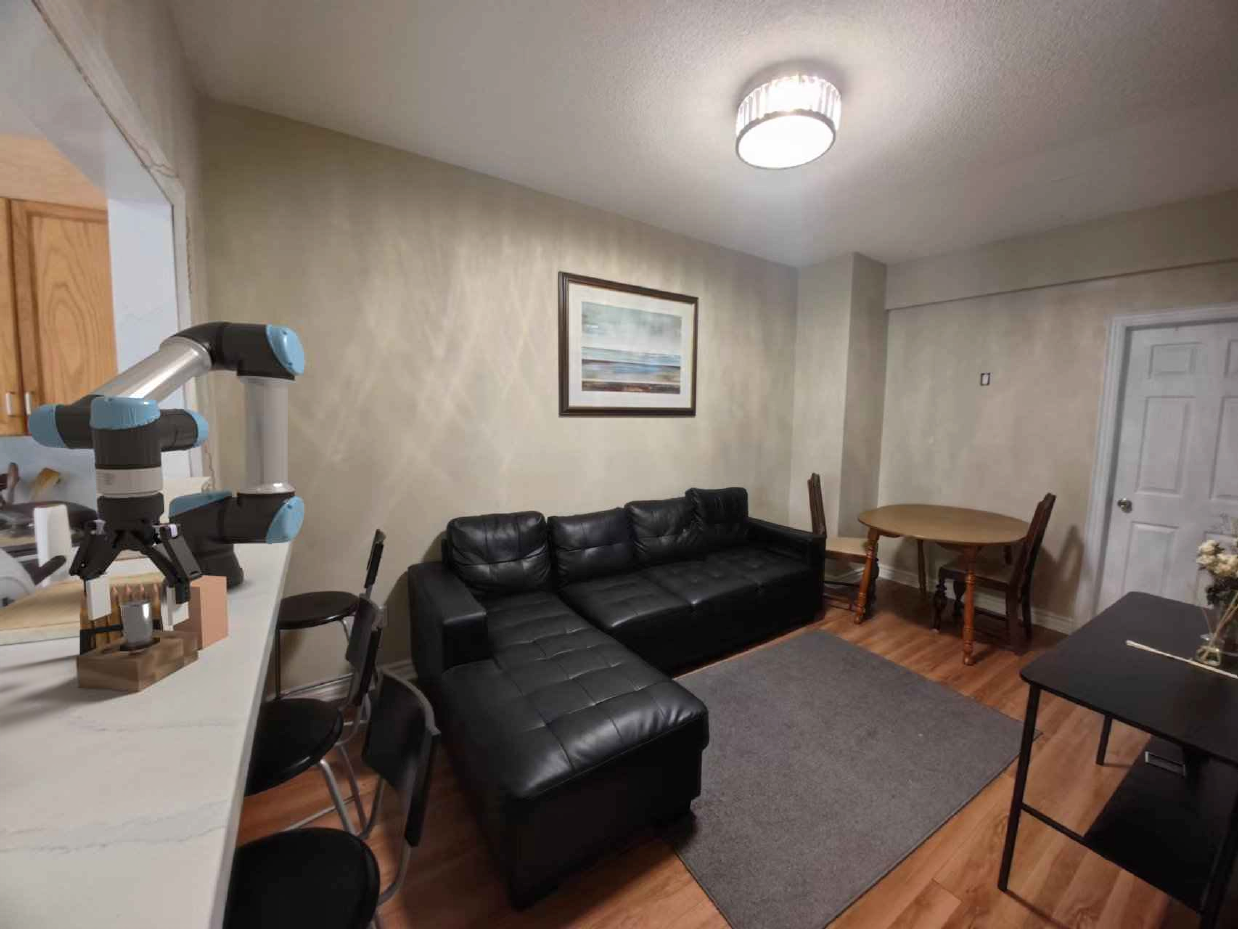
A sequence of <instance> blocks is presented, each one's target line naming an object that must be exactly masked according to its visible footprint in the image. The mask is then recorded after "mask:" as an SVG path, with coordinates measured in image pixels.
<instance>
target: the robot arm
mask: <svg viewBox="0 0 1238 929" xmlns="http://www.w3.org/2000/svg"><path fill="white" fill-rule="evenodd" d="M305 367H306V359H305V351H304V348H303V346H302V343H301V340H300V339H299V337H298V335H297V334H296V333H295V332H294V331H293V330H292V329H290V328H288V327H285V326H278V325H273V324H262V323H261V324H260V323H259V324H258V323H248V322H247V323H244V322H230V321H220V320H219V321H211V322H210V321H209V322H205V323H201V324H197V325H195V326H194V325H193V326H190V327H188V328H187V327H186V328H185V329H182V330H181V331H178V332H176V333H174V334H172V335H170V336H169V337H167V338H165V339H164V340H163V341H161V343H160V344H159V346H158V350H156V351H154V352H153V353H151V354H150V355H148V356H146V357H145V358H144V359H141V360H140V361H139V362H137V363H135V364H134V365H132V366H130V367H128V368H127V369H126V370H123V371H122V372H121V373H119V374H118V375H116V376H114V377H112V378H111V379H109V380H108V381H106V382H104V383H103V384H102V385H99V386H98V387H96V388H95V389H93V390H92V391H90V392H89V393H87V394H85V395H84V396H82V397H81V398H79V399H77V400H75V401H74V402H72V403H70V404H69V403H68V404H64V403H56V404H53V403H52V404H43V405H39V406H37V407H36V408H34V409H33V410H32V411H31V413H30V414H29V416H28V418H27V429H28V433H29V434H30V435H31V437H32V439H33V440H34V441H35V442H36V443H37V444H39V445H41V446H44V447H46V448H54V449H55V448H56V449H67V450H70V451H72V450H93V456H94V469H95V470H94V471H95V485H96V486H95V488H96V493H97V494H100V495H99V496H98V497H97V498H96V506H97V517H98V519H96V520H95V519H94V520H90V521H86V522H84V528H83V536H82V539H81V541H80V544H79V546H78V548H77V551H76V553H75V555H74V558H73V560H72V562H71V564H70V567H69V569H68V574H69V576H71V577H75V576H77V577H79V580H81V581H82V582H83V591H85V592H84V595H85V597H86V598H87V606H88V619H89V620H94V619H97V618H100V617H102V616H105V615H108V614H110V613H111V602H110V590H111V587H110V578H109V575H107V574H108V572H107V570H108V569H109V567H110V566H111V565H112V563H113V562H114V561H115V560H116V559H117V557H118V556H119V555H120V554H121V552H123V551H131V552H137V553H140V554H141V555H143V556H147V557H148V558H149V560H150V561H151V562H152V563H153V564H154V566H155V567H156V568H157V570H159V572H160V573H162V575H163V576H164V577H165V578H163V580H162V584H161V586H162V588H161V589H162V593H163V594H164V595H166V602H167V603H166V604H167V606H166V607H167V623H168V626H173V625H175V624H177V623H179V622H182V621H184V620H186V619H188V618H189V615H188V601H190V598H191V596H190V582H191V581H194V580H196V579H199V578H201V577H202V576H203V575H205V576H221V577H226V587H227V590H228V589H231V588H233V587H236V586H238V585H240V584H241V583H243V582H244V580H245V576H244V574H245V572H244V569H243V568H242V567H241V565H240V563H239V559H238V557H237V554H236V553H235V545H241V544H242V545H243V544H245V545H248V544H249V545H251V544H253V545H254V544H255V545H256V544H257V545H258V544H259V545H260V544H261V545H262V544H263V545H264V544H265V545H266V544H267V545H272V544H284V543H285V544H286V543H289V542H291V541H292V540H293V539H295V537H296V536H297V534H299V532H300V530H301V527H302V525H303V521H304V517H305V503H304V500H303V498H301V497H299V496H295V495H296V494H295V493H296V490H295V488H294V487H293V486H292V485H291V484H289V482H288V479H289V478H288V476H289V475H288V472H289V470H288V469H289V468H288V467H289V466H288V459H289V458H288V457H289V456H288V450H289V449H288V441H289V440H288V437H289V436H288V431H289V430H288V427H289V426H288V425H289V424H288V420H289V419H288V418H289V416H288V414H289V412H288V411H289V410H288V408H289V407H288V406H289V405H288V400H289V399H288V398H289V397H288V396H289V395H288V394H289V393H288V392H289V391H288V390H289V388H290V387H292V386H293V385H294V384H296V376H297V377H298V376H300V375H302V374H303V372H305ZM214 371H215V372H216V371H229V372H235V373H236V374H235V375H236V379H237V380H238V381H239V382H241V384H242V385H243V387H244V484H242V486H241V487H239V488H238V489H237V490H236V496H233V495H234V494H233V492H232V490H230V489H219V490H218V489H217V490H210V491H203V492H196V493H189V494H185V495H181V496H177V497H173V499H172V500H170V502H169V504H168V516H167V519H168V524H164V525H162V523H161V519H160V518H161V517H162V515H163V514H165V510H166V509H165V498H164V495H165V494H163V493H162V492H160V491H161V490H163V489H164V479H163V478H164V477H163V476H164V475H163V467H162V465H163V464H162V463H163V462H162V453H167V452H169V453H170V452H176V451H177V452H178V451H179V452H180V451H182V452H183V451H185V452H186V451H189V450H191V449H194V448H195V449H196V448H199V447H200V446H202V445H203V444H205V442H207V441H208V439H209V435H210V426H209V423H208V421H207V419H206V418H205V417H204V416H203V415H201V414H200V413H199V412H196V411H194V410H190V409H183V408H172V409H171V408H170V409H169V408H167V409H166V408H159V403H161V402H162V401H163V400H165V399H166V398H168V397H169V396H170V395H171V394H173V393H174V392H175V391H177V390H178V389H179V388H181V387H182V386H183V385H184V384H186V383H187V382H188V381H190V380H192V378H198V377H199V378H200V377H203V376H206V374H208V373H210V372H214Z"/></svg>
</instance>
